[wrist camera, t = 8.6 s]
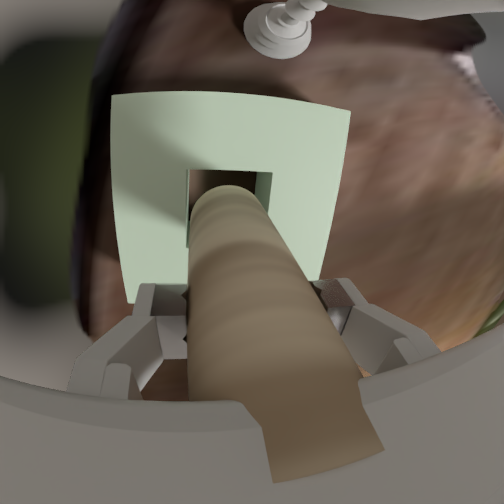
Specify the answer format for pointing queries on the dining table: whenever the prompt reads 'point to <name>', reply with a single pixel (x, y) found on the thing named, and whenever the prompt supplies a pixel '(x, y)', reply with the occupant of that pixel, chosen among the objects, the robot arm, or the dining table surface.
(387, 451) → the robot arm
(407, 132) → the dining table surface
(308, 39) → the chalice
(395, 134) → the dining table surface
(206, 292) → the peg
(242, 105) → the socket block
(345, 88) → the dining table surface
